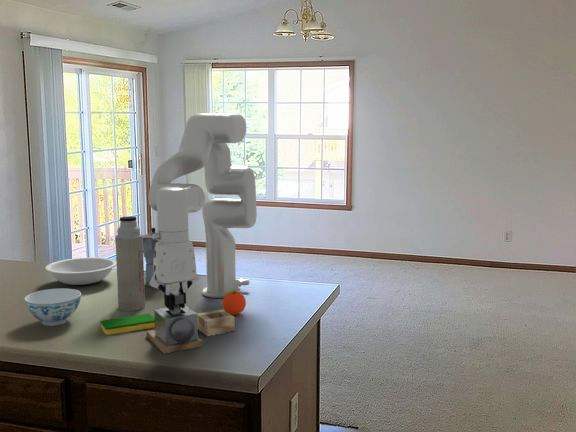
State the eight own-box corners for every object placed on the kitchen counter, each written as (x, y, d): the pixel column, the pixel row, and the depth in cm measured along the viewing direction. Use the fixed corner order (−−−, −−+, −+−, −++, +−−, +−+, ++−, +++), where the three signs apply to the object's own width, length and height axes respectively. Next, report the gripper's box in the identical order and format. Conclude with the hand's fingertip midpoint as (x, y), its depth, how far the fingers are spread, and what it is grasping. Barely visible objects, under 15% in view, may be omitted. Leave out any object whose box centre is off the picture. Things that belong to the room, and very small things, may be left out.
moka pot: (139, 280, 220) (137, 225, 217) (182, 279, 221) (181, 225, 218) (134, 287, 210) (132, 230, 207) (180, 286, 212) (178, 229, 208)
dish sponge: (100, 328, 170) (100, 320, 170) (149, 321, 177) (149, 312, 177) (106, 336, 164) (105, 327, 164) (156, 328, 171) (156, 319, 170)
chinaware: (27, 316, 179) (25, 291, 178) (81, 311, 184) (80, 286, 183) (25, 333, 165) (23, 305, 164) (83, 326, 171) (82, 300, 169)
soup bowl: (106, 292, 205) (105, 273, 204) (34, 292, 205) (33, 272, 204) (125, 274, 229) (125, 257, 228) (61, 274, 229) (60, 257, 228)
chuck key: (185, 337, 155) (184, 294, 154) (175, 339, 154) (174, 296, 152) (176, 329, 161) (175, 288, 159) (167, 331, 160) (165, 289, 158)
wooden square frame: (222, 322, 174) (222, 309, 173) (234, 331, 167) (234, 317, 166) (196, 327, 170) (195, 313, 169) (207, 336, 163) (207, 321, 162)
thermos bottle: (149, 303, 192) (146, 215, 188) (138, 311, 184) (134, 219, 180) (125, 302, 194) (122, 214, 189) (113, 309, 186) (109, 218, 181)
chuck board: (182, 330, 168) (182, 324, 168) (202, 346, 156) (201, 340, 156) (146, 336, 163) (146, 331, 163) (164, 353, 151) (163, 347, 151)
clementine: (215, 314, 182) (214, 290, 181) (232, 308, 187) (231, 286, 186) (234, 319, 177) (233, 295, 176) (250, 314, 182) (250, 290, 181)
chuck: (199, 341, 155) (198, 314, 154) (167, 347, 151) (166, 320, 150) (174, 321, 171) (173, 296, 170) (144, 326, 167) (143, 301, 166)
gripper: (146, 242, 146) (149, 316, 149) (209, 236, 154) (210, 306, 157) (137, 237, 153) (139, 308, 156) (197, 231, 161) (199, 299, 164)
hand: (175, 307), depth 156 cm, fingers closed on chuck key, 2 cm apart
